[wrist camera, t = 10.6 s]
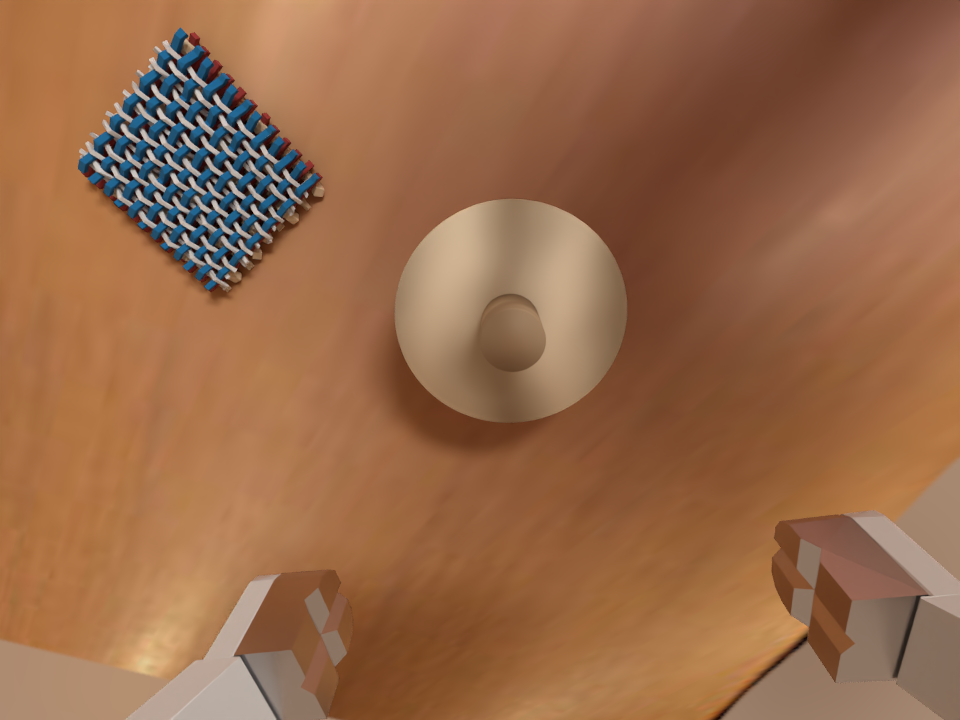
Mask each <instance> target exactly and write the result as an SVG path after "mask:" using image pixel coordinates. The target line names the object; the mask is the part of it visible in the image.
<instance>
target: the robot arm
mask: <svg viewBox="0 0 960 720" xmlns="http://www.w3.org/2000/svg"><path fill="white" fill-rule="evenodd" d="M774 539H775V540H776V541H777V543H778V544H779V545H780V547H781V549H780V550H779V551H778V552H777V553H776V554H775V555H774V556H773V557H772V576H773V580H774V583H775V587H776V590H777V592H778V594H779V596H780V598H781V601H782V602H783V604H784V605H785V607H786V609H787V610H788V612H789V613H790V615H791V616H793V617H794V618H796V619H797V620H799V621H800V622H802V623H804V624H805V625H807V626H808V627H809V631H808V642H809V644H810V645H811V647H812V648H813V650H814V651H815V653H816V654H817V656H818V657H819V659H820V660H821V662H822V663H823V665H824V666H825V668H826V669H827V671H828V672H829V674H830V675H831V677H832V678H833V680H834V682H835V683H843V682H868V681H892V680H897V681H896V684H897V685H898V686H900V687H901V688H902V689H904V690H905V691H906V692H908V693H909V694H910V695H912V696H913V697H914V698H916V699H917V700H918V701H920V702H921V703H922V704H924V705H925V706H926V707H928V708H929V709H930V710H932V711H933V712H934V713H936V714H937V715H938V716H940V717H941V718H943V719H944V720H960V582H959V581H958V580H957V579H956V578H955V577H954V576H952V575H951V574H950V573H949V572H948V571H947V570H946V569H945V568H943V567H942V566H941V565H940V564H939V563H938V562H936V560H934V559H933V558H932V557H931V556H930V555H929V554H928V553H927V552H925V551H924V550H923V549H922V548H921V547H920V546H919V545H918V544H916V543H915V542H914V541H913V540H912V539H911V538H910V537H909V536H907V535H906V534H905V533H904V532H903V531H902V530H901V529H899V528H898V527H897V526H896V525H895V524H894V523H893V522H892V521H891V520H889V519H888V518H887V517H886V516H885V515H883V514H881V513H879V512H877V511H875V510H873V511H864V512H856V513H847V514H841V515H828V516H820V517H811V518H803V519H794V520H786V521H779V523H778V524H777V526H776V527H775V535H774ZM340 584H341V582H340V580H339V578H338V575H337V573H336V571H335V570H318V571H305V572H292V573H282V574H273V575H260V576H257V577H256V578H254V579H253V580H252V581H251V582H250V583H249V584H248V586H247V588H246V589H245V591H244V593H243V594H242V596H241V598H240V599H239V601H238V603H237V604H236V606H235V608H234V609H233V611H232V613H231V614H230V616H229V618H228V619H227V621H226V623H225V624H224V626H223V627H222V629H221V631H220V632H219V634H218V636H217V637H216V639H215V641H214V642H213V644H212V646H211V647H210V649H209V651H208V652H207V654H206V656H205V657H204V659H202V660H195V661H194V662H193V663H192V664H190V665H189V666H188V667H187V668H186V669H184V670H183V671H182V672H181V673H180V674H179V675H177V676H176V677H175V678H174V679H173V680H171V681H170V682H169V683H168V684H167V685H165V686H164V687H163V688H162V689H161V690H160V691H158V692H157V693H156V694H155V695H154V696H153V697H151V698H150V699H149V700H148V701H146V702H145V703H144V704H143V705H142V706H141V707H139V708H138V709H137V710H136V711H135V712H134V713H132V714H131V715H130V716H129V717H127V718H126V719H125V720H320V719H327V716H328V713H329V710H330V707H331V704H332V700H333V697H334V694H335V691H336V688H337V684H338V681H339V676H338V673H337V670H336V667H335V666H336V665H337V664H338V663H339V662H340V661H341V659H342V658H343V657H344V656H345V655H346V654H347V652H348V649H349V645H350V642H351V638H352V628H353V616H352V610H351V606H350V604H349V601H348V599H347V598H345V597H344V596H343V595H341V594H340V593H338V589H339V587H340Z"/></svg>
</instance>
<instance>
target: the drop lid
mask: <svg viewBox="0 0 960 720" xmlns="http://www.w3.org/2000/svg"><path fill="white" fill-rule="evenodd" d="M626 322H627V296H626V288H625V285H624V281H623V277H622V274H621V271H620V269H619V267H618V264H617V262H616V260H615V258H614V256H613V255H612V253H611V251H610V250H609V248H608V247H607V245H606V244H605V243H604V242H603V241H602V239H601V238H600V237H599V236H598V235H597V234H596V233H595V232H594V231H593V230H592V229H591V228H590V227H589V226H588V225H586V224H585V223H584V222H582V221H581V220H579V219H578V218H576V217H575V216H573V215H572V214H570V213H568V212H566V211H563V210H561V209H559V208H557V207H555V206H552V205H549V204H546V203H542V202H539V201H533V200H527V199H499V200H491V201H487V202H483V203H479V204H475V205H473V206H470V207H468V208H465V209H463V210H461V211H459V212H457V213H455V214H454V215H452V216H450V217H448V218H447V219H445V220H444V221H443V222H442V223H440V224H439V225H438V226H436V227H435V228H434V229H433V230H432V231H431V232H430V233H429V234H428V235H427V236H426V237H425V238H424V239H423V240H422V241H421V242H420V244H419V245H418V247H417V248H416V249H415V251H414V252H413V253H412V255H411V257H410V259H409V260H408V262H407V264H406V266H405V268H404V270H403V273H402V276H401V278H400V281H399V285H398V289H397V294H396V300H395V327H396V333H397V338H398V342H399V345H400V348H401V351H402V354H403V356H404V358H405V360H406V362H407V364H408V366H409V368H410V369H411V371H412V372H413V374H414V375H415V377H416V378H417V379H418V381H419V382H420V383H421V384H422V385H423V386H424V388H425V389H426V390H428V391H429V392H430V393H431V394H432V395H433V396H434V397H435V398H437V399H438V400H439V401H441V402H442V403H444V404H445V405H447V406H448V407H450V408H452V409H454V410H456V411H458V412H460V413H462V414H465V415H468V416H470V417H473V418H477V419H481V420H485V421H491V422H499V423H516V422H527V421H532V420H537V419H541V418H544V417H547V416H550V415H553V414H555V413H557V412H560V411H562V410H564V409H566V408H568V407H569V406H571V405H573V404H574V403H576V402H578V401H579V400H580V399H581V398H583V397H584V396H585V395H587V394H588V393H589V392H590V391H591V390H592V389H593V388H594V387H595V386H596V385H597V384H598V383H599V382H600V381H601V379H602V378H603V377H604V376H605V374H606V373H607V372H608V370H609V369H610V367H611V365H612V364H613V362H614V360H615V358H616V356H617V354H618V351H619V349H620V347H621V344H622V340H623V337H624V334H625V328H626Z"/></svg>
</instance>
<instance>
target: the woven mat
mask: <svg viewBox="0 0 960 720" xmlns="http://www.w3.org/2000/svg"><path fill="white" fill-rule="evenodd" d="M187 37H188V35H187V34H186V33H185V32H184V31H183V30H182V29H181V27H180V28H179V30H178V31H177V32H176V33H175V34H174V37H173V40H172V43H171V45H169V43H168V41H167V40H165V41H164V42H162V43H163V45H164V47H165V48H166V50H164V51H161V50H160V49H159V48H158V47H156V46H155V48H154V49H153V51H154V52H156V53H157V54H158V58H157V62H156V61H155V59H154V57H152V58H151V59H149V61H150V62H151V64H150V65H149V66H148V67H149V68H150V70H149V72H148V73H147V74H146V75H144V74H143V73H142V72H140V71H139V70H137V72H136V73H135V74H136V75H137V76H138V77H140V83H139V88H138V86H137V84H136V83H135V82H134V81H132V87H133V89H134V91H135V93H133V94H132V95H131V94H130V93H128V92H127V91H126V90H124V91H123V92H122V93H123V94H125V95H126V96H127V97H128V98H127V97H124V98H123V99H124V104H123V109H122V108H121V106H120V105H119V104H118V103H115V104H114V105H115V108H116V110H117V112H118V113H115V115H114V114H112V113H110V112H109V111H107V112H106V113H105V114H106V115H108V116H109V117H110V125H108V123H107V122H106V121H105V120H104V119H103V122H102V124H103V125H104V127H105V129H106V132H104V133H103V134H102V135H100V136H98V135H96V134H95V133H93V132H91V133H90V134H89V135H91V136H92V137H94V138H95V139H94V144H93V146H92V144H91V143H90V142H89V141H88V142H86V143H85V144H86V146H87V148H88V150H89V153H87V152H86V151H84V150H83V149H80V151H79V152H80V153H81V154H83V155H81V156H80V157H81V159H80V160H79V164H78V169H79V170H80V171H81V173H82V174H83V175H84V176H85V177H89V178H88V180H89V181H91V182H92V183H93V184H95V185H96V186H97V187H98V188H99V189H103V188H104V193H105V194H106V195H107V196H108V197H109V198H111V199H112V200H113V201H114V204H115V205H116V206H117V207H118V208H120V209H121V210H122V211H127V210H128V209H129V210H128V213H127V215H129V216H130V217H131V219H133V220H134V221H135V222H137V223H138V222H139V220H140V219H142V221H141V222H140V223H138V224H137V225H138V226H139V227H140V228H141V229H142V230H144V231H145V232H150V231H151V230H152V229H153V230H152V233H151V237H152V238H153V239H154V240H155V241H156V242H157V243H159V242H161V241H162V240H163V239H164V240H165V243H163V244H162V245H160V246H161V247H162V248H163V249H164V250H165V251H167V252H168V253H170V252H172V251H173V250H174V249H176V251H175V254H174V256H173V257H174V258H175V259H176V260H177V261H179V260H181V261H183V262H185V261H187V263H186V264H185V265H184V266H183V267H184V268H185V269H186V270H187V271H188V272H189V273H192V272H194V271H195V270H196V269H197V268H200V269H199V270H198V272H197V273H196V275H195V277H196V278H197V279H198V280H199V281H201V282H204V281H206V279H207V278H208V277H210V278H211V279H212V280H211V281H210V282H209V283H207V284H206V285H205V286H204V287H205V288H206V289H207V290H209V291H210V292H213V291H214V290H215V289H216V288H217V287H218V286H220V287H221V288H223V290H225V291H227V292H229V291H230V290H231V289H232V288H231V287H230V286H229V285H228V284H227V282H226V281H225V280H226V279H228V280H230V281H233V282H235V283H237V282H238V281H240V280H241V275H242V273H240V272H237V269H238V268H239V266H240V264H242V265H243V266H244V267H246V268H247V269H248V270H250V269H251V268H252V267H253V266H254V264H253V263H252V262H251V261H250V260H249V259H248V258H247V256H248V255H251V256H252V259H262V250H261V248H260V245H259V244H260V243H261V242H262V241H263V242H264V243H267V244H269V243H272V239H273V237H272V236H271V232H272V231H274V232H275V230H276V229H277V230H278V231H279V232H280V231H281V230H282V229H283V228H284V227H285V225H284V224H283V222H284V219H286V220H287V221H289V222H290V223H292V224H293V225H294V224H295V223H297V222H298V221H299V214H298V213H296V212H295V208H296V206H297V204H300V205H301V206H302V207H303V208H305V209H306V210H307V211H308V210H309V209H310V208H311V206H310V205H309V204H308V202H307V201H306V200H305V198H304V197H306V198H307V197H308V193H309V192H310V191H312V193H313V195H314V196H318V197H323V194H324V188H323V186H322V184H320V183H319V181H320V180H321V179H322V178H323V177H322V176H321V175H320V174H319V173H316V174H315V173H314V174H313V175H312V174H311V173H310V171H309V170H310V169H311V168H312V167H313V166H314V165H313V164H312V163H311V162H310V160H309V161H308V162H307V163H306V164H304V163H303V162H302V161H300V160H299V158H300V157H301V156H302V154H301V153H300V152H299V151H298V150H297V149H296V150H294V149H293V150H292V151H291V150H290V149H289V148H288V146H289V145H290V144H291V142H290V141H289V140H288V139H287V138H283V140H282V139H281V138H280V137H278V136H277V134H278V133H279V132H280V130H279V129H278V128H277V127H276V126H275V125H269V126H268V127H267V125H268V123H269V120H270V118H271V117H270V116H269V115H268V114H267V113H263V114H262V116H260V114H259V113H258V112H257V111H254V110H255V108H256V107H257V105H256V103H255V102H254V101H252V100H248V99H247V100H244V98H243V97H244V96H245V95H246V94H247V93H246V92H245V91H244V90H243V89H242V88H241V87H239V88H238V89H236V88H235V87H234V86H233V85H232V83H233V82H234V81H235V80H234V79H233V78H232V77H231V76H230V75H229V74H225V73H222V74H221V73H220V72H219V71H220V70H221V69H222V67H223V66H222V65H221V64H220V63H219V62H218V61H217V60H214V61H213V63H212V62H211V61H210V59H209V58H208V56H209V54H210V52H209V51H208V50H207V49H206V48H205V47H204V46H202V47H200V46H199V40H200V38H199V37H198V36H197V35H196V33H195V32H194V33H190V37H189V41H188V40H187V39H186V38H187ZM198 69H199V70H198ZM197 70H198V72H197V74H196V73H195V72H196V71H197ZM172 73H173V74H172ZM160 87H161V89H160V91H158V89H159V88H160ZM223 94H224V96H223V98H222V100H220V98H221V97H222V95H223ZM235 107H237V108H236V109H234V108H235ZM233 109H234V110H233ZM232 110H233V111H232ZM185 114H186V116H185V118H184V115H185ZM246 120H247V123H246V125H245V126H244V125H243V123H244V122H245V121H246ZM198 125H199V126H198ZM197 126H198V127H197ZM148 132H149V134H148ZM209 138H210V141H209V143H208V141H207V140H208V139H209ZM184 142H185V144H184V145H183V143H184ZM161 143H162V144H161ZM160 144H161V145H160ZM268 144H271V147H270V148H269V150H268V151H267V150H266V148H265V147H266V146H267V145H268ZM244 147H245V148H246V149H247V150H246V151H243V150H242V149H243V148H244ZM113 149H114V151H113ZM280 156H282V157H283V158H282V159H281V160H280V161H278V159H279V157H280ZM172 157H173V159H172ZM149 158H150V160H149ZM232 160H233V161H234V164H233V166H231V164H230V162H231V161H232ZM254 160H255V161H256V163H255V165H254V164H253V163H252V162H253V161H254ZM291 167H292V168H293V169H294V170H293V171H292V172H291V174H289V173H288V170H289V169H290V168H291ZM118 170H119V171H118ZM139 171H140V172H139ZM138 172H139V174H138ZM244 172H245V173H246V175H245V176H243V174H244ZM266 173H267V174H268V175H267V176H265V174H266ZM218 176H220V177H219V179H217V178H218ZM197 177H198V179H197V182H195V179H196V178H197ZM301 178H302V179H303V180H304V181H305V182H303V183H302V184H301V185H300V184H299V183H298V181H299V180H300V179H301ZM276 182H279V185H278V187H277V189H276V187H275V186H274V184H275V183H276ZM254 184H256V185H257V187H256V189H255V190H254V188H253V187H252V186H253V185H254ZM295 186H296V187H297V188H296V187H295ZM230 189H231V190H232V191H231V192H229V190H230ZM208 190H210V191H209V192H208ZM163 192H164V195H163V197H162V196H161V194H162V193H163ZM142 193H144V194H142ZM287 193H288V194H289V195H290V198H289V199H287V198H286V196H285V195H286V194H287ZM265 194H266V195H267V196H268V198H267V199H264V198H263V196H264V195H265ZM241 198H242V199H243V200H242V202H241V204H240V203H239V202H238V201H239V200H240V199H241ZM219 199H220V200H221V203H220V205H218V203H217V201H218V200H219ZM196 204H198V205H196ZM175 205H176V206H175ZM274 206H275V207H276V209H277V212H275V210H274V209H273V207H274ZM231 209H232V210H233V212H232V213H231V214H228V212H229V211H230V210H231ZM251 209H252V211H253V213H254V214H253V215H251V214H250V213H249V211H250V210H251ZM206 213H208V216H207V217H206V216H205V214H206ZM185 214H188V215H187V217H186V219H185V218H184V215H185ZM240 221H241V223H242V226H241V227H240V226H239V224H238V223H239V222H240ZM262 221H265V222H264V224H263V225H262V227H260V224H261V223H262ZM197 223H199V224H200V225H201V226H200V227H198V228H197V229H196V228H194V227H195V225H196V224H197ZM217 224H219V226H220V228H219V229H218V228H217V227H216V225H217ZM172 229H173V230H172ZM250 234H251V235H253V236H251V235H250ZM187 235H188V236H189V237H190V239H189V238H188V236H187ZM207 235H208V237H209V240H207V239H206V238H205V237H206V236H207ZM229 235H230V238H229V240H227V238H228V237H229ZM183 239H184V240H183ZM238 245H240V247H241V249H240V250H239V248H238ZM199 246H200V247H199ZM217 248H220V249H219V250H218V249H217ZM196 250H197V251H196ZM195 251H196V252H195ZM229 254H231V255H232V256H233V257H232V258H231V260H230V261H228V260H227V259H226V258H227V256H228V255H229ZM210 257H211V258H212V259H211V258H210ZM205 259H206V261H207V262H206V261H205ZM215 269H217V270H219V271H218V273H217V272H216V271H215Z"/></svg>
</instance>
